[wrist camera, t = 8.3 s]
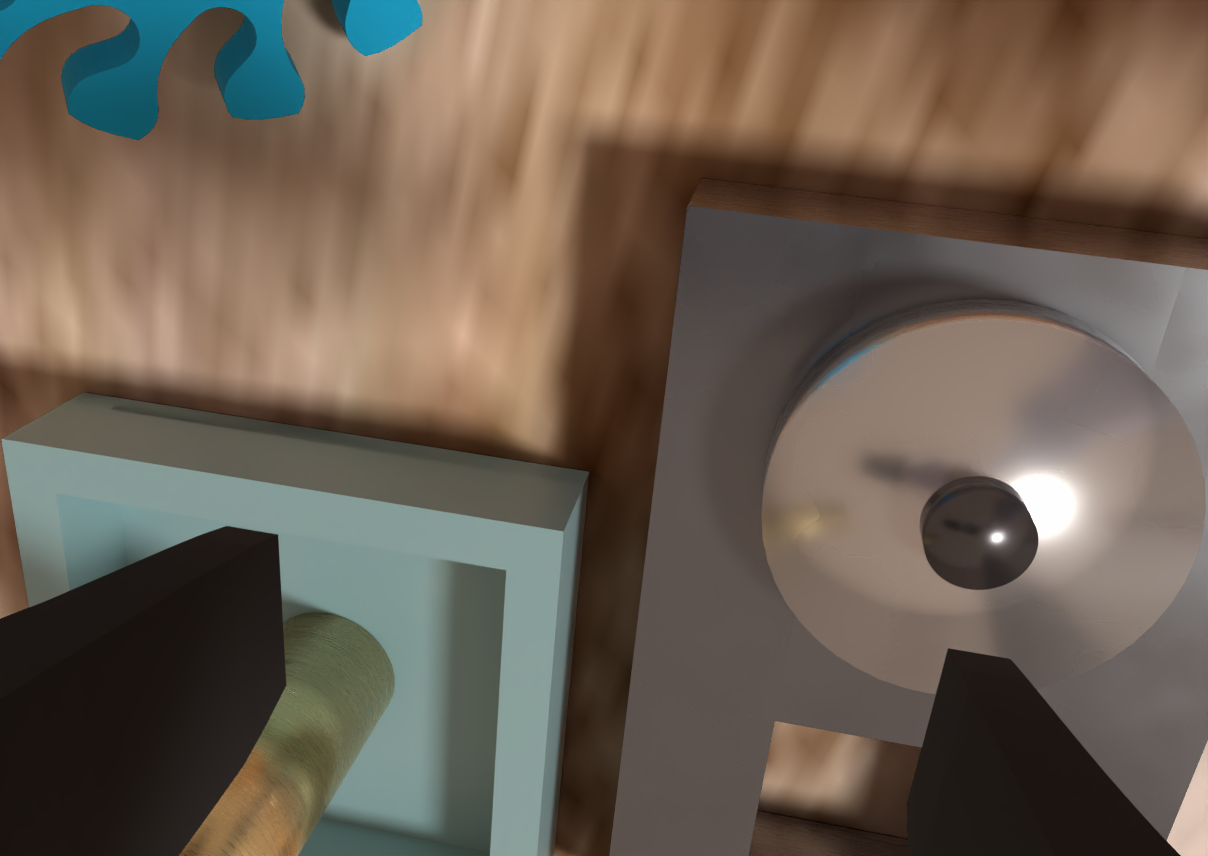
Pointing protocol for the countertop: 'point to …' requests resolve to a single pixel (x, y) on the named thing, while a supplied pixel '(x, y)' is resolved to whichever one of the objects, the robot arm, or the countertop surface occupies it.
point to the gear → (242, 67)
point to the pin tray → (353, 592)
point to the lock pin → (302, 740)
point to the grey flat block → (915, 500)
